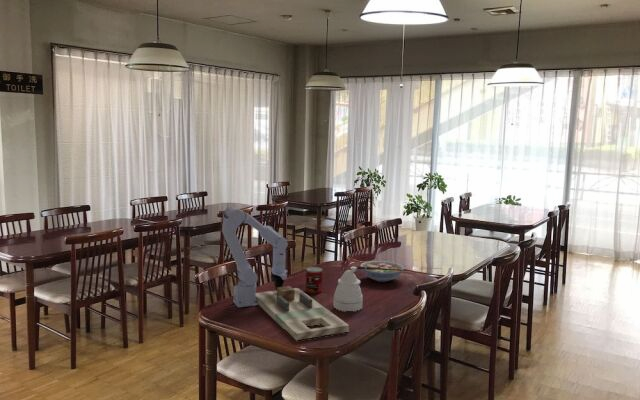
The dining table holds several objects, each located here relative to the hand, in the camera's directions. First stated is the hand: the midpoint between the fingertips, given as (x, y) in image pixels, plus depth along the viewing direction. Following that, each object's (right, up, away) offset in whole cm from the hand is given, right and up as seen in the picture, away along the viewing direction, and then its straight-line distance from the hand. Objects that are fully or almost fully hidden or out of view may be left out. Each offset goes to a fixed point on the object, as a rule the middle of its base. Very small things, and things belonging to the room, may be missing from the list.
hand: (278, 290), depth 237 cm
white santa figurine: (+31, -6, -7) cm, 33 cm away
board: (+9, -7, -19) cm, 22 cm away
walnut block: (+4, -2, -8) cm, 9 cm away
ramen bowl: (+51, -1, +34) cm, 62 cm away
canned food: (+16, -3, +13) cm, 21 cm away
